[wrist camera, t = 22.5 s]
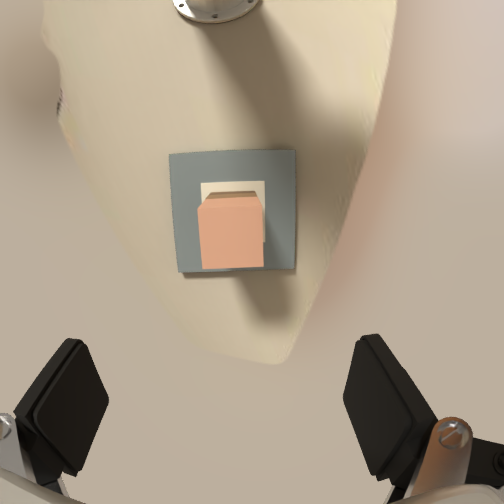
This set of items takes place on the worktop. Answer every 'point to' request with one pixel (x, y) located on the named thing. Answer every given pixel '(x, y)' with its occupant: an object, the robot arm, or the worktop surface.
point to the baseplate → (235, 179)
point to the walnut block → (231, 194)
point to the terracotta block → (231, 232)
